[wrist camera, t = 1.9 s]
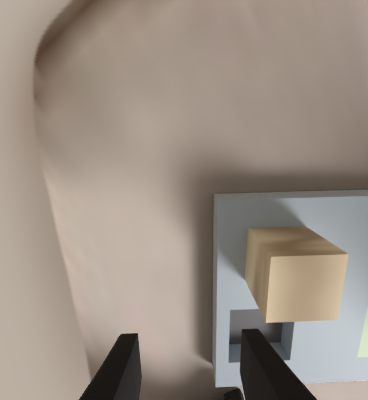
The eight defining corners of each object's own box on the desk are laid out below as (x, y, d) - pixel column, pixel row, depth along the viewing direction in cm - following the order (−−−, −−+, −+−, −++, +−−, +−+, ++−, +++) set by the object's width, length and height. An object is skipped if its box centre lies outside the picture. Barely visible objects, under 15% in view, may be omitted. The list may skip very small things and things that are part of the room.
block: (305, 226, 15) (348, 254, 11) (299, 278, 16) (337, 320, 12) (247, 228, 15) (270, 256, 11) (244, 280, 16) (265, 322, 12)
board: (450, 187, 17) (518, 197, 14) (404, 356, 21) (448, 396, 18) (213, 193, 17) (222, 206, 13) (212, 364, 21) (218, 407, 17)
